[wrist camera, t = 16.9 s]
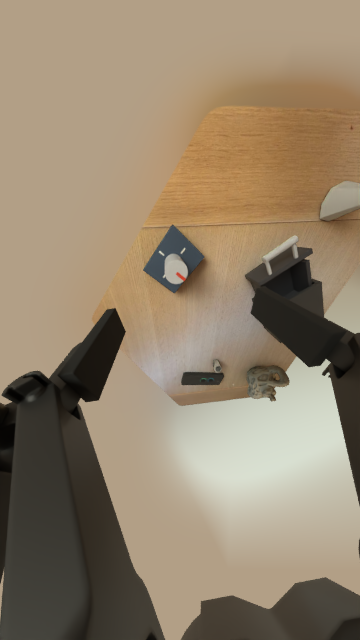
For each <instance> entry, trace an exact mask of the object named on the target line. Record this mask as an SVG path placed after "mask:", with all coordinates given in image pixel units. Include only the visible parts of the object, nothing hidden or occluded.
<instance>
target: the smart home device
mask: <svg viewBox="0 0 360 640" xmlns="http://www.w3.org/2000/svg"><path fill="white" fill-rule="evenodd" d="M223 377H224V375H223V373H203V372H185V373H184V374H183V377H182V381H181V383H182V385H219V384H220V382H221V381H222V379H223Z"/></svg>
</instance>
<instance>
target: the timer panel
mask: <svg viewBox="0 0 360 640" xmlns="http://www.w3.org/2000/svg"><path fill="white" fill-rule="evenodd" d="M170 254H177V255H179V256H180V257H181V259H182V260H183V262H184V263H185V265H186V266H187V269H188V275H187V278H188V276H189V275H190V274H191V273H192V272H193V270H194V269H195V268H196V267H197V266H198V264H199V263H200V262H201V261H202V259H203V258H204V255H203V254H202V253H201V252H200V251H199V250H198V249H197V248H196V247H195V246H194V245H193V244H192V243H191V242H190V241H189V240H188V239H187V238H186V237H185V236H184V235H183V234H182V233H181V232H180V231H179V230H178V229H177V228H176V227H175V226H174V225H172V226H171V227H170V229H169V230H168V232H167V234H166V235H165V237H164V238H163V240H162V241H161V243H160V244H159V246H158V247H157V249H156V250H155V252H154V254H153V255H152V257H151V258H150V260H149V261H148V263H147V264H146V266H145V267H144V269H143V271H145V272H146V273H147V274H149V275H150V276H151V277H153V278H154V279H155V280H157V281H158V282H160V283H161V284H162V285H164V286H165V287H166V288H168V289H169V290H170V291H172V292H173V293H175V292H176V291H177V290H178V288H179V287H180V286H181V285H182V284H183V282H184V281H183V282H182V283H180V284H173V283H170V282H169V281H168V280H167V279H166V276H165V259H166V257H167V256H168V255H170ZM187 278H186V279H187Z"/></svg>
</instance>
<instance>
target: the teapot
mask: <svg viewBox="0 0 360 640" xmlns="http://www.w3.org/2000/svg"><path fill="white" fill-rule="evenodd" d="M276 373H277V374H278V375H279V376H280V380H275V379H276V376H275V374H276ZM247 375H248V376H247V381H248V384H249V387H248V395H249V396H250V397H252V398H254V399H259V398H261V397H262V395H263V396H265V397H268V398H270V400H271V401H276V399H275V397H274V395H275V394H276V391H275V390H274V388H273V387H274V386H277V387H285V386H287V385H289V378H288V376H287V374H286V373H285V371H284V370H283V369H282V368H280V367H278V366H274V365H273V366H270V367H254V368H252V369H251V370H250V371H248V372H247Z"/></svg>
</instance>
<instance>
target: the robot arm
mask: <svg viewBox="0 0 360 640" xmlns="http://www.w3.org/2000/svg"><path fill="white" fill-rule="evenodd" d="M251 314H252V315H253V316H254V317H255V318H256V319H257V320H259V321H260V322H261V323H262V324H263V325H264V326H265V327H266V328H267V329H268V330H269V331H270V332H271V333H273V334H274V335H275V336H276V337H277V338H278V339H279V340H280V341H281V342H282V343H283V344H284V345H285V346H287V347H288V348H289V349H290V350H291V351H292V352H293V353H294V354H295V355H296V356H297V357H298V358H300V359H301V360H302V361H303V362H304V363H305V364H306V365H307V366H308V367H313V366H320V365H321V364H322V363H323V362H324V361H325V359H327V360H328V361H330V362H331V363H330V364H329V365H328V367H327V368H326V369H325V370H324V372H323V373H322V375H324V376H325V375H326V373H328V372H329V373H330V375H329V377H330V378H331V381H332V385H333V390H334V394H335V399H336V403H337V408H338V412H339V416H340V421H341V425H342V430H343V434H344V438H345V443H346V447H347V452H348V456H349V461H350V465H351V470H352V474H353V478H354V483H355V487H356V492H357V496H358V501H359V505H360V333H356V334H354V333H352V332H350V331H348V330H346V329H344V328H343V327H341V326H339V325H337V324H335V323H333V322H331V321H328V320H327V319H326V318H324V317H322V316H320V315H318V314H316V313H314V312H311V311H308V310H307V309H305V308H303V307H301V306H299V305H297V304H295V303H294V302H292V301H290V300H288V299H286V298H284V297H282V296H280V295H279V294H277V293H275V292H273V291H271V290H269V289H267V288H266V287H261V288H257V289H256V293H255V297H254V302H253V306H252V311H251ZM125 332H126V331H125V329H124V327H123V324H122V322H121V320H120V318H119V315H118V313H117V311H116V308H114V309H107V310H106V311H105V313H104V314H103V315H102V317H101V318H100V319H99V321H98V322H97V323H96V325H95V326H94V327H93V329H92V330H91V331H90V333H89V334H88V335H87V337H86V338H85V339H84V341H83V342H82V343H79V344H78V345H77V346H75V347H74V348H73V349H72V350H71V351H70V353H69V354H68V356H66V358H65V359H64V361H62V363H61V364H60V365H59V366H58V368H57V369H56V370H55V372H54V373H53V374H52V375H51V377H50V378H49V379H48V378H47V377H46V376H45V375H44V374H43V373H41V372H40V371H33V372H30V373H27V374H25V375H23V376H21V377H19V378H18V379H16V380H15V381H13V382H12V383H11V384H10V385H8V387H7V388H6V389H5V390H4V391H3V393H2V396H4V397H5V398H7V399H9V400H11V401H12V402H11V403H9V404H7V405H4V404H2V403H0V583H1V579H2V575H3V571H4V582H3V594H2V607H1V620H0V640H165V638H164V635H163V632H162V629H161V627H160V624H159V621H158V618H157V615H156V612H155V609H154V607H153V604H152V601H151V598H150V596H149V593H148V591H147V588H146V586H145V584H144V583H143V581H142V579H141V578H140V577H139V576H138V574H137V573H136V571H135V569H134V567H133V564H132V562H131V559H130V556H129V553H128V550H127V547H126V544H125V541H124V538H123V535H122V532H121V528H120V525H119V522H118V520H117V516H116V513H115V510H114V507H113V504H112V501H111V498H110V495H109V492H108V489H107V486H106V483H105V480H104V477H103V474H102V471H101V468H100V465H99V462H98V459H97V456H96V453H95V450H94V447H93V443H92V440H91V438H90V434H89V431H88V428H87V426H86V422H85V419H84V416H83V413H82V410H81V407H80V406H79V404H78V402H79V400H80V398H82V399H83V400H84V401H85V402H90V401H97V400H99V398H100V396H101V393H102V390H103V388H104V385H105V383H106V380H107V378H108V375H109V373H110V370H111V368H112V365H113V363H114V360H115V357H116V355H117V353H118V350H119V348H120V345H121V342H122V340H123V337H124V335H125ZM359 555H360V540H359ZM4 567H5V568H4ZM181 640H360V596H359V595H358V594H355V593H354V592H352V591H350V590H348V589H346V588H344V587H342V586H341V585H339V584H337V583H335V582H333V581H331V580H329V579H328V578H320V579H315V580H310V581H305V582H299V583H295V584H294V585H293V587H292V588H291V589H290V590H289V591H288V592H287V593H286V594H285V595H284V596H283V597H282V598H281V599H280V600H279V601H278V602H277V603H276V604H275V605H274V606H273V607H272V608H271V609H266V608H263V607H261V606H258V605H255V604H253V603H250V602H247V601H245V600H242V599H240V598H237V597H235V596H227V597H221V598H217V599H211V600H206V601H201V614H200V615H199V616H198V617H197V618H196V619H195V620H194V621H193V622H192V623H191V625H190V626H189V627H188V629H187V630H186V632H185V633H184V635H183V637H182V639H181Z"/></svg>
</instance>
